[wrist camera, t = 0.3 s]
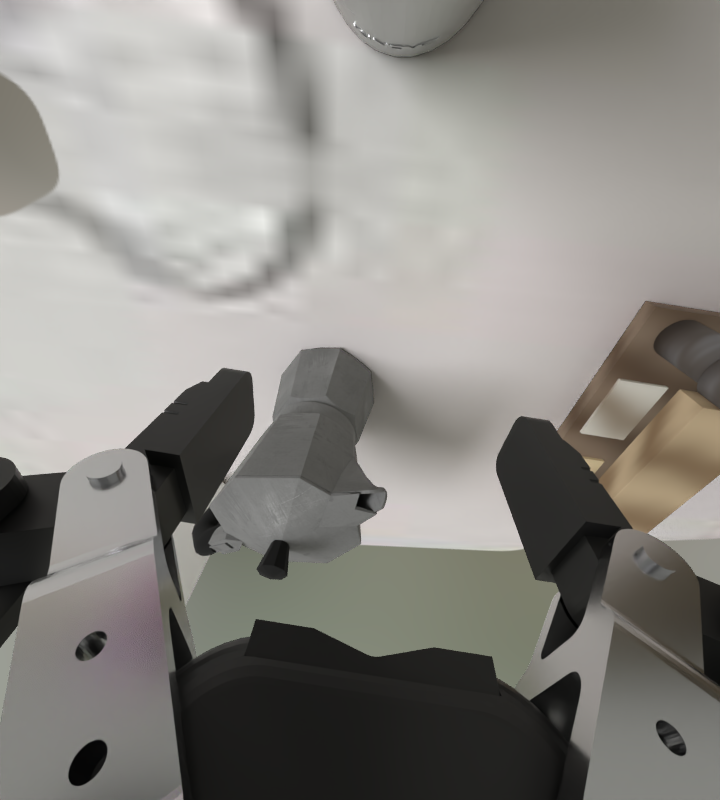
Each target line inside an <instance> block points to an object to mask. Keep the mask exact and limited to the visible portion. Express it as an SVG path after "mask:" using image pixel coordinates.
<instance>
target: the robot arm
mask: <svg viewBox="0 0 720 800" xmlns="http://www.w3.org/2000/svg"><path fill="white" fill-rule="evenodd" d="M482 1H483V0H334V3H335V5H336V6H337V8H338V10H339V11H340V13H341V15H342V16H343V18H344V20H345V22H346V23H347V25H348V26H349V27H350V28H351V29H352V30H353V31H354V32H355V34H356V35H357V36H358V37H359V38H360V39H361V40H362V41H363V42H365V43H366V44H368V45H369V46H371V47H372V48H374V49H375V50H377V51H379V52H382V53H385V54H389V55H392V56H416V55H419V54H422V53H426V52H429V51H432V50H433V49H435V48H437V47H438V46H440V45H441V44H443V43H445V42H446V41H448V40H449V39H450V38H451V37H453V36H454V35H455V34H456V33H457V32H458V31H459V30H460V29H461V28H462V27H463V26H464V25H465V24H466V23H467V22H468V20H469V19H470V18H471V16H472V15H473V14H474V12H475V11H476V10H477V8H478V7H479V6H480V4H481V3H482ZM254 416H255V414H254V398H253V383H252V376H251V374H250V372H246V371H240V370H234V369H227V368H222V369H221V370H220V371H219V372H218V373H217V374H216V375H215V376H214V377H213V378H212V379H211V380H210V381H209V382H200V383H198V384H196V385H194V386H192V387H190V388H188V389H186V390H185V391H184V392H183V393H182V394H181V395H180V396H179V397H178V398H177V399H176V400H175V401H174V403H171V404H170V405H169V406H168V407H167V408H166V409H165V412H164V413H161V414H160V415H159V416H158V417H157V418H156V419H155V420H154V421H153V422H152V423H151V424H150V425H149V426H148V427H147V428H146V429H145V430H144V431H143V432H141V433H140V434H139V435H138V436H137V437H136V438H135V439H134V440H133V441H132V442H131V443H130V444H129V445H128V446H127V447H126V448H125V449H112V450H107V451H103V452H99V453H97V454H94V455H91V456H89V457H87V458H85V459H83V460H82V461H80V462H78V463H77V464H76V465H74V466H73V467H72V468H71V469H70V470H68V471H67V472H63V473H51V474H40V475H28V476H22V475H21V474H20V472H19V471H18V469H17V468H16V466H15V465H14V463H13V462H12V461H10V460H9V459H6V458H2V457H0V647H1V646H2V645H3V643H4V642H5V641H6V640H7V639H8V637H9V636H10V635H11V634H12V632H13V631H14V630H15V628H16V627H17V626H18V628H17V633H16V639H15V645H14V650H13V655H12V661H11V667H10V672H9V678H8V683H7V689H6V694H5V700H4V706H3V711H2V717H1V722H0V800H720V585H718V584H715V583H713V582H710V581H708V580H705V579H703V578H701V577H698V576H696V575H695V573H694V572H693V570H692V569H691V567H690V566H689V565H688V564H687V562H686V561H685V560H684V559H683V558H682V557H681V556H680V555H679V554H678V553H676V552H675V551H674V550H673V549H672V548H671V547H669V546H668V545H666V544H665V543H664V542H662V541H660V540H659V539H657V538H655V537H653V536H651V535H649V534H647V533H644V532H641V531H638V530H634V529H633V528H632V526H631V525H630V523H629V522H628V521H627V519H626V518H625V516H624V515H623V514H622V512H621V511H620V509H619V508H618V506H617V505H616V504H615V502H614V501H613V499H612V498H611V497H610V495H609V494H608V492H607V491H606V489H605V488H604V487H603V485H602V484H600V483H599V479H598V478H597V477H596V475H595V474H594V472H593V471H590V467H589V465H588V464H587V462H586V461H585V460H584V458H583V457H582V455H581V454H580V453H579V452H578V451H577V450H575V449H574V448H573V447H572V446H571V445H570V444H568V443H567V442H566V441H565V440H562V438H561V437H560V435H559V434H558V432H557V431H556V429H555V428H554V426H553V425H552V423H551V422H550V421H548V420H542V419H536V418H530V417H523V416H521V417H519V418H518V419H517V420H516V421H515V423H514V425H513V427H512V429H511V431H510V432H509V434H508V436H507V438H506V440H505V442H504V444H503V446H502V448H501V450H500V452H499V454H498V457H497V461H496V471H497V475H498V478H499V481H500V483H501V486H502V489H503V492H504V495H505V497H506V500H507V503H508V506H509V508H510V511H511V514H512V517H513V519H514V522H515V525H516V528H517V530H518V533H519V536H520V539H521V541H522V544H523V547H524V550H525V552H526V555H527V558H528V560H529V563H530V566H531V568H532V571H533V574H534V577H535V579H536V580H540V581H547V582H553V583H556V584H557V587H558V589H559V592H558V593H557V594H556V595H555V596H554V598H553V600H552V602H551V605H550V608H549V611H548V614H547V617H546V619H545V622H544V625H543V628H542V631H541V634H540V637H539V640H538V642H537V645H536V648H535V651H534V653H533V656H532V659H531V662H530V664H529V666H528V668H527V670H526V671H525V673H524V674H523V676H522V677H521V679H520V680H519V682H518V683H517V685H516V687H515V688H512V687H511V686H509V685H508V684H506V683H505V682H503V681H501V680H500V679H498V678H496V673H495V668H494V664H493V659H492V657H490V656H484V655H478V654H472V653H466V652H459V651H453V650H446V649H441V648H428V649H422V650H416V651H410V652H405V653H399V654H393V655H387V656H382V657H373V656H369V655H366V654H364V653H362V652H360V651H358V650H356V649H354V648H352V647H350V646H348V645H346V644H344V643H342V642H340V641H338V640H336V639H334V638H332V637H330V636H328V635H326V634H324V633H322V632H320V631H318V630H316V629H314V628H308V627H302V626H296V625H290V624H283V623H277V622H270V621H264V620H258V619H256V621H255V624H254V627H253V630H252V633H251V636H250V637H245V638H240V639H237V640H233V641H230V642H227V643H224V644H222V645H219V646H217V647H215V648H212V649H210V650H208V651H206V652H205V653H203V654H201V655H200V656H198V657H197V656H196V651H195V645H194V641H193V636H192V632H191V628H190V624H189V620H188V616H187V613H186V607H185V601H184V596H183V590H182V584H181V578H180V573H179V567H178V561H177V555H176V550H175V544H174V539H173V535H172V534H173V533H174V531H175V530H176V528H177V526H178V525H179V523H180V522H185V523H192V524H198V522H199V521H200V519H201V517H202V515H203V514H204V512H205V510H206V509H207V507H208V505H209V503H210V502H211V500H212V498H213V497H214V495H215V493H216V491H217V490H218V488H219V486H220V485H221V483H222V481H223V479H224V478H225V476H226V474H227V473H228V471H229V469H230V467H231V466H232V464H233V462H234V461H235V459H236V457H237V456H238V454H239V452H240V450H241V449H242V447H243V445H244V444H245V442H246V440H247V438H248V437H249V435H250V433H251V431H252V428H253V424H254Z"/></svg>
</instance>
